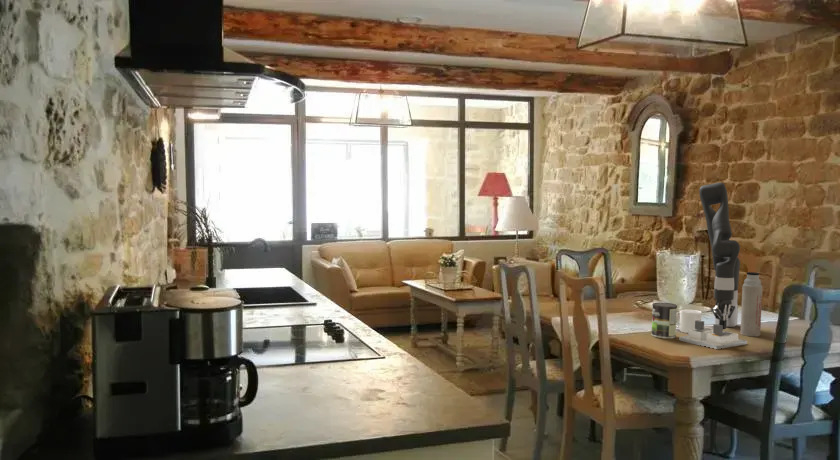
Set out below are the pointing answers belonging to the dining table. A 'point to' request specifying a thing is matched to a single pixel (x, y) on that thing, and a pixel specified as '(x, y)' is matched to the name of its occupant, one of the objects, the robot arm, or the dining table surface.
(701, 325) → the on breaker handle
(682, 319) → the mug
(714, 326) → the breaker handle
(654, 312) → the coffee can
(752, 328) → the thermos bottle
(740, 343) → the breaker panel
